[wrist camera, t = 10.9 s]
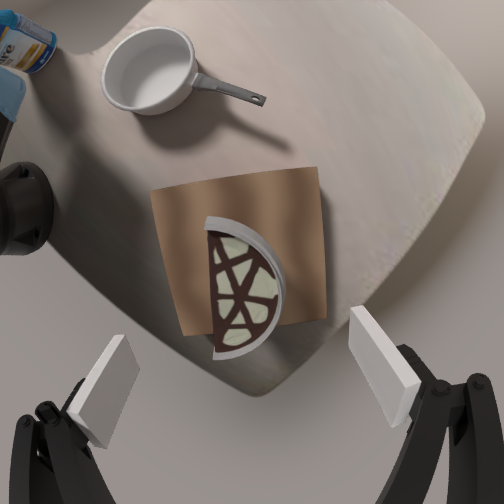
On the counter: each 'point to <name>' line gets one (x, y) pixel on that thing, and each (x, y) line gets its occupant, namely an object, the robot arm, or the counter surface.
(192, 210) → the walnut base
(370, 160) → the counter surface
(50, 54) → the beverage bottle
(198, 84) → the saucepan
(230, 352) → the food container
